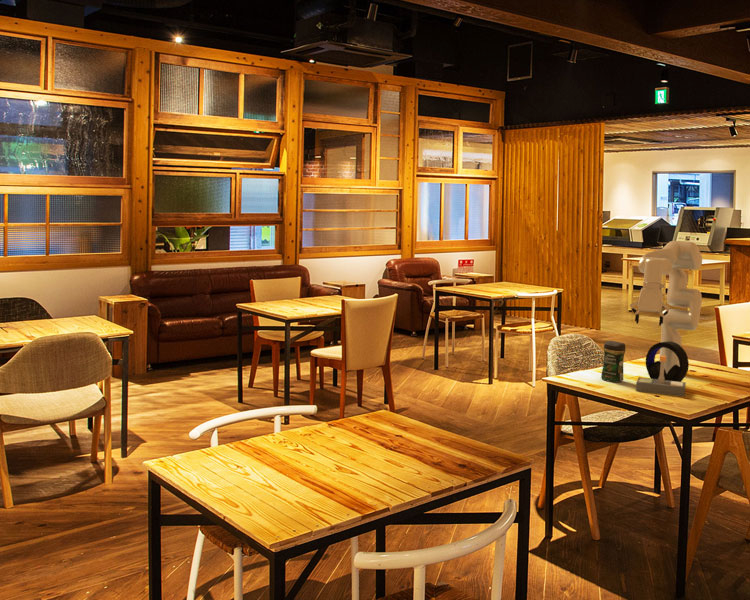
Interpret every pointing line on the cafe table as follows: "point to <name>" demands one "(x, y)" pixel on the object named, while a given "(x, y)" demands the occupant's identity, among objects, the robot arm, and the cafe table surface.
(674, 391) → the switch box
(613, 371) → the coffee jar
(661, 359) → the lever
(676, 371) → the headphones
